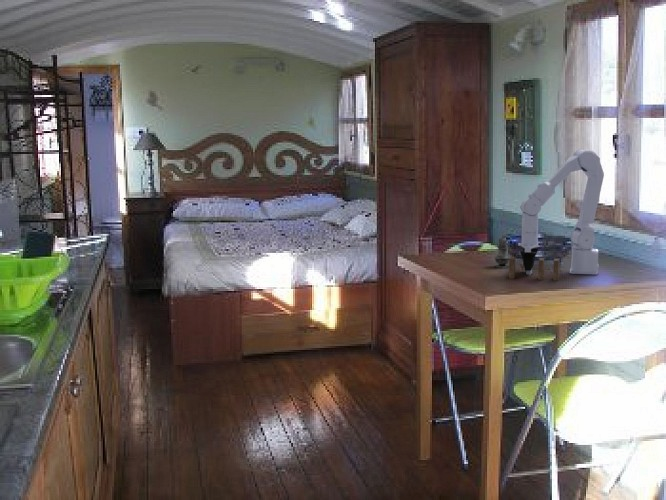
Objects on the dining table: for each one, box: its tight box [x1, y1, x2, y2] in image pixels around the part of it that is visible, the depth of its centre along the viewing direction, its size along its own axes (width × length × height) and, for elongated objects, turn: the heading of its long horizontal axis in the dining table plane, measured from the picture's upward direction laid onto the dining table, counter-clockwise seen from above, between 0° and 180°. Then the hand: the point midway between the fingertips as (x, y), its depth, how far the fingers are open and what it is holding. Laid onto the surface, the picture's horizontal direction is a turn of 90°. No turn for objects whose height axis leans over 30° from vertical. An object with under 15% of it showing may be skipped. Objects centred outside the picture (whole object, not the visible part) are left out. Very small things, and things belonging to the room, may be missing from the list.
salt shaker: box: [494, 235, 511, 269], centre depth 293 cm, size 6×6×12 cm
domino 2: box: [525, 269, 533, 276], centre depth 279 cm, size 2×4×7 cm, turn 161°
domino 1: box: [508, 256, 516, 280], centre depth 272 cm, size 2×4×7 cm, turn 161°
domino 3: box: [537, 257, 545, 281], centre depth 269 cm, size 2×4×7 cm, turn 161°
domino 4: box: [552, 258, 560, 282], centre depth 267 cm, size 2×4×7 cm, turn 161°
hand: (529, 268), depth 279 cm, fingers open, 6 cm apart
